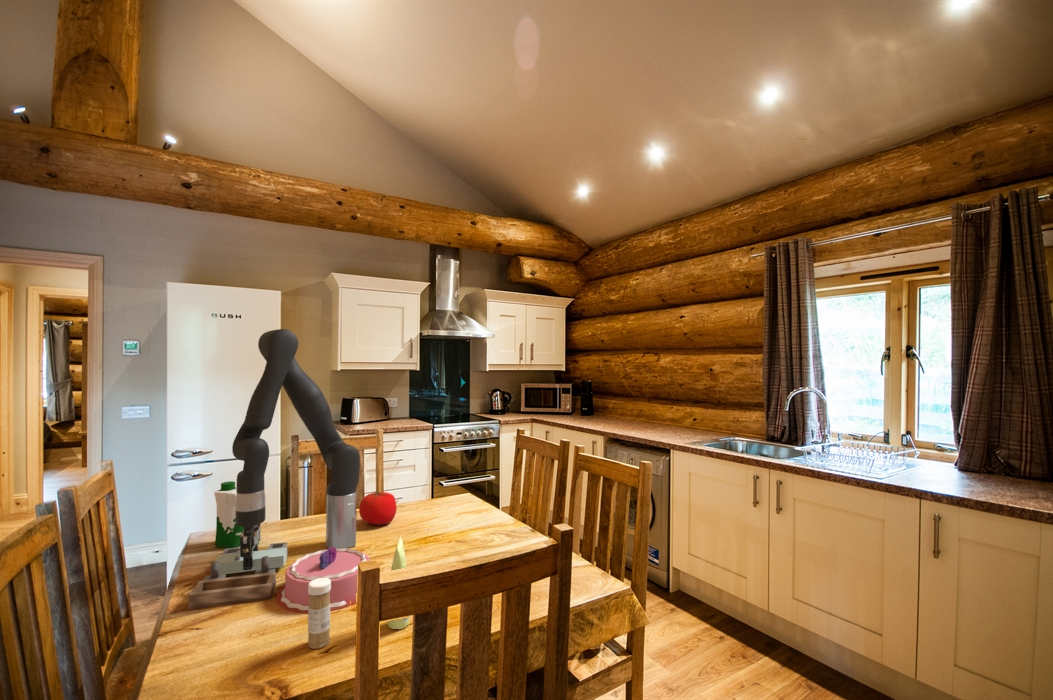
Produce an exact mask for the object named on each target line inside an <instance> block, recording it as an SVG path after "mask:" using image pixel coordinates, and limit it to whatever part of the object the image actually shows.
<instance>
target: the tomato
mask: <svg viewBox="0 0 1053 700" xmlns="http://www.w3.org/2000/svg"><path fill="white" fill-rule="evenodd" d="M396 501H397V500H396V497H395V495H394V494H392V493H389V492H386V491H385V492H384V491H374V492H371V493H368V494H367V495H365V496H363V498H362V499H361V501H360V504H359V508H358V510H359V511H358V512H359V516H360V518H361V520H362V521H363V522H365V523H367V524H371V525H374V526H375V525H376V526H378V525H379V526H380V525H381V526H383V525H387V524H389V523H391V522H392V521H393V519H394V518H395V516H396V515H397V514H396V513H397V502H396Z"/></svg>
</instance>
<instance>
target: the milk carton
mask: <svg viewBox="0 0 1053 700" xmlns="http://www.w3.org/2000/svg"><path fill="white" fill-rule="evenodd" d="M213 493H214V498H215V502H216V522H215V523H216V526H215V530H216V531H215V538H214V539H215V540H214V548H218V547H220V548H219V549H229V548H238V546H239V547H240V537H241V533H242V531H244V527H242V526H237V525H236V494H237V485H236V481H230V480H229V481H224V482H221V483H220V489H219V490H216V491H214V492H213Z"/></svg>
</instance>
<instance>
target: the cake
mask: <svg viewBox="0 0 1053 700" xmlns="http://www.w3.org/2000/svg"><path fill="white" fill-rule="evenodd" d="M363 561H370V562H371V560H370V558H369V556H368V555H367V554H366V553H365V552H362V551H359V550H358V549H350V548H344V549H337V548H334V547H330V548H329V549H328V548H327V549H321V550H318V551H315V552H311V553H307V554H305V556H302V557H300V558H297V560H295V561H292V562H291V564H289V565H288V567H287V568H286V571H285V576H284V577H285V578H284V579H285V580H284V581H285V582H284V585H283V586H282V587H281V588H280V589H279V590H278V592H277V595H276V603H277V605H278V606H279V607H280V608H281V609H283V610H285V611H288V612H292V613H295V614H296V613H297V614H304V615H305V614H308V606H309V593H308V584H309V583H310V582H311V581H312V580H315V579H318V578H328V579H330V581H331V589H330V612H335V611H338V610H342V609H346V608H348V607H351V606H354V605H356V604H357V603H356V593H357V574H358V564H359V563H360V562H363ZM350 601H351V604H350ZM350 605H351V606H350Z"/></svg>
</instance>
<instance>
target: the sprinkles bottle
mask: <svg viewBox="0 0 1053 700" xmlns="http://www.w3.org/2000/svg"><path fill="white" fill-rule="evenodd" d="M330 589H331V581H330V579H328V578H318V579H315V580H312V581H311V582H310V583H309V584H308V593H309V606H308V615H307V616H308V617H307V619H308V620H307V625H308V626H307V631H308V635H307V636H308V640H307V647H308V648H310V649H313V650H315V649H322V648H325V647H326V646H327V645H328V644H329V643H330V640H331V638H330V628H331V611H330Z"/></svg>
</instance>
